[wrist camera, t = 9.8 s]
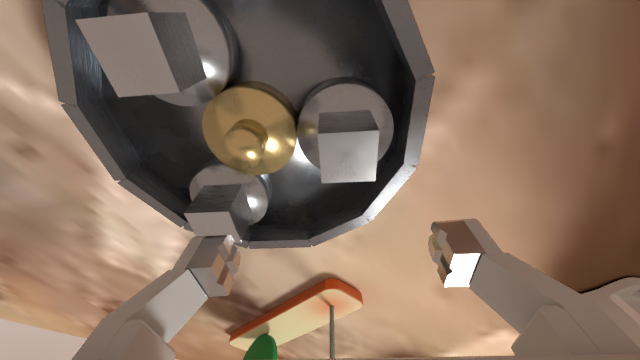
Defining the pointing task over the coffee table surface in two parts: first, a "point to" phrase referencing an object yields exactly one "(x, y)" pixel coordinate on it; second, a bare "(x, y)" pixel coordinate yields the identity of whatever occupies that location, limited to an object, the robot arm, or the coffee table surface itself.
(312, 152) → the gear
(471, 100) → the coffee table surface
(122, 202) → the coffee table surface
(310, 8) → the carrier
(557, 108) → the coffee table surface
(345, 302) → the crank mechanism
